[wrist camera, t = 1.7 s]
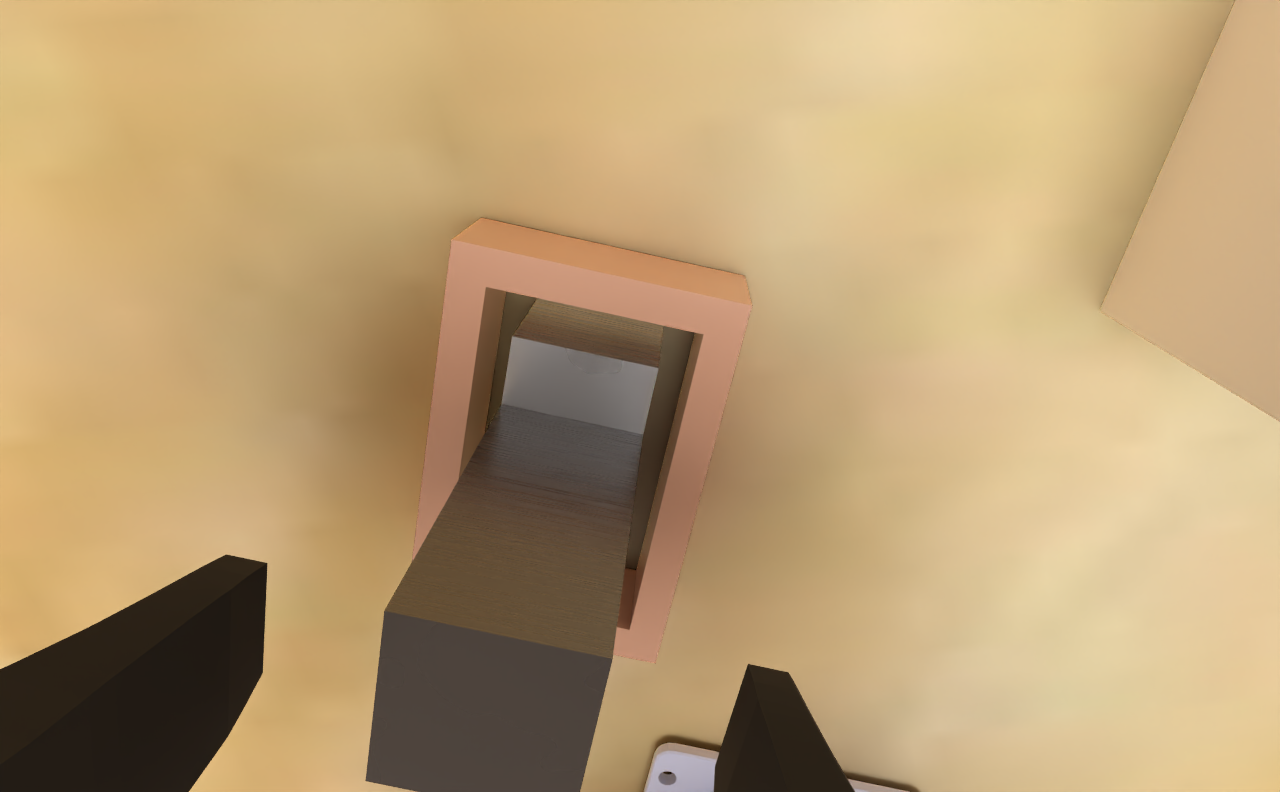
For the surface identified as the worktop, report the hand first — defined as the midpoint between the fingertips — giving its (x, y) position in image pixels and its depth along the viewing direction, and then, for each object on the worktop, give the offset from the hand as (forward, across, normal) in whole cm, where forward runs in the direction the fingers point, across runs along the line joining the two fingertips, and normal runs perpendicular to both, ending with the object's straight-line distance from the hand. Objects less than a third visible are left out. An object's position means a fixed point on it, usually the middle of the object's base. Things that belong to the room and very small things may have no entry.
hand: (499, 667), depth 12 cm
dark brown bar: (+9, 0, 0) cm, 9 cm away
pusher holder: (+9, 0, 0) cm, 9 cm away
